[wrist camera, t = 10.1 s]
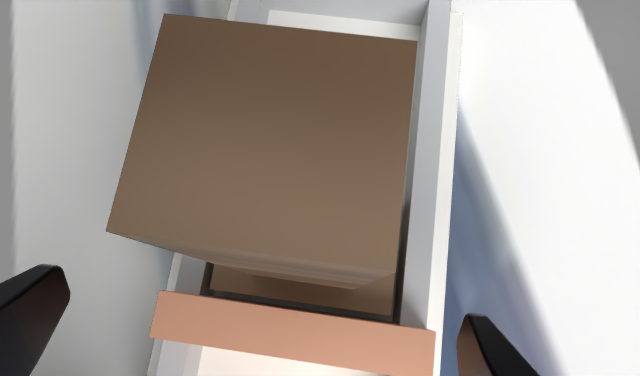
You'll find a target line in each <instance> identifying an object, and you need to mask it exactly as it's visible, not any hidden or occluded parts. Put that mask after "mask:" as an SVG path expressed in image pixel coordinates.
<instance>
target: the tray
mask: <svg viewBox="0 0 640 376" xmlns="http://www.w3.org/2000/svg"><path fill="white" fill-rule="evenodd" d="M451 1H452V0H231V4H230V8H229V13H228V17H227V20H229V21H238V22H247V23H257V24H266V25H275V26H284V27H294V28H303V29H312V30H321V31H330V32H340V33H349V34H358V35H367V36H376V37H386V38H395V39H404V40H413V41H418V46H417V56H416V67H415V77H414V87H413V98H412V108H411V119H410V129H409V139H408V150H407V160H406V171H405V181H404V192H403V202H402V212H401V223H400V233H399V244H398V254H397V265H396V272H395V278H394V288H393V299H392V309H391V316H388V315H382V314H375V313H368V312H361V311H354V310H348V309H341V308H334V307H327V306H321V305H314V304H307V303H300V302H293V301H287V300H280V299H273V298H266V297H260V296H253V295H246V294H239V293H233V292H226V291H219V290H212V289H209V288H210V283H211V278H212V273H213V268H214V264H213V263H210V262H206V261H203V260H200V259H196V258H193V257H190V256H186V255H183V254H180V253H176V252H174V256H173V261H172V265H171V270H170V274H169V279H168V283H167V287H166V291H159V294H158V299H157V303H156V307H155V312H154V316H153V320H152V325H151V329H150V333H149V338H155V341H154V345H153V349H152V354H151V358H150V363H149V367H148V372H147V376H439V375H440V360H441V345H442V330H443V315H444V300H445V285H446V270H447V255H448V240H449V226H450V211H451V196H452V181H453V166H454V151H455V136H456V121H457V106H458V91H459V76H460V61H461V46H462V31H463V16H464V13H456V12H451Z"/></svg>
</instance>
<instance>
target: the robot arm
mask: <svg viewBox="0 0 640 376" xmlns="http://www.w3.org/2000/svg"><path fill="white" fill-rule="evenodd" d="M69 300H70V290H69V286H68V283H67V280H66V277H65V274H64V271H63V269H62V268H61V267H60V266H57V265H48V264H40V265H38V266H35V267H33V268H31V269H29V270H27V271H25V272H23V273H21V274H19V275H17V276H15V277H13V278H11V279H9V280H6V281H4V282H2V283H0V376H29V375H30V374H31V372H32V371H33V369H34V367H35V366H36V364H37V362H38V360H39V359H40V357H41V355H42V353H43V351H44V349H45V347H46V346H47V344H48V342H49V340H50V338H51V336H52V334H53V332H54V330H55V328H56V326H57V324H58V322H59V321H60V319H61V317H62V315H63V313H64V311H65V309H66V307H67V305H68V303H69ZM456 349H457V360H458V371H459V376H540V375H539V374H538V373H537V372H536V370H535V369H534V368H533V367H532V366H531V365H530V364H529V363H528V361H527V360H526V359H525V358H524V357H523V356H522V355H521V353H520V352H519V351H518V350H517V349H516V348H515V347H514V346H513V344H512V343H511V342H510V341H509V340H508V339H507V338H506V336H505V335H504V334H503V333H502V332H501V331H500V330H499V328H498V327H497V326H496V325H495V324H494V323H493V322H492V321H491V319H490V318H489V317H488V316H486V315H483V314H475V313H467V314H466V315H465V317H464V319H463V323H462V326H461V329H460V332H459V335H458V338H457V345H456Z"/></svg>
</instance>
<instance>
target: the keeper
mask: <svg viewBox="0 0 640 376" xmlns="http://www.w3.org/2000/svg"><path fill="white" fill-rule="evenodd" d="M417 46H418V41H413V40H404V39H395V38H386V37H376V36H367V35H358V34H349V33H340V32H330V31H321V30H312V29H303V28H294V27H284V26H275V25H266V24H257V23H247V22H238V21H229V20H220V19H211V18H201V17H192V16H183V15H174V14H165V13H164V16H163V20H162V23H161V27H160V31H159V35H158V38H157V42H156V46H155V49H154V53H153V57H152V61H151V64H150V68H149V72H148V75H147V79H146V83H145V87H144V90H143V94H142V98H141V102H140V105H139V109H138V113H137V116H136V120H135V124H134V128H133V131H132V135H131V139H130V142H129V146H128V150H127V154H126V157H125V161H124V165H123V168H122V172H121V176H120V180H119V183H118V187H117V191H116V194H115V198H114V202H113V206H112V209H111V213H110V217H109V221H108V224H107V228H106V231H107V232H110V233H113V234H117V235H120V236H123V237H127V238H130V239H133V240H137V241H140V242H143V243H147V244H150V245H153V246H157V247H160V248H163V249H166V250H170V251H173V252H176V253H180V254H183V255H186V256H190V257H193V258H196V259H200V260H203V261H206V262H210V263H213V264H214V268H213V273H212V278H211V283H210V288H209V289H212V290H219V291H226V292H233V293H239V294H246V295H253V296H260V297H266V298H273V299H280V300H287V301H293V302H300V303H307V304H314V305H321V306H327V307H334V308H341V309H348V310H354V311H361V312H368V313H375V314H382V315H388V316H391V309H392V299H393V288H394V278H395V272H396V265H397V254H398V244H399V233H400V223H401V212H402V202H403V192H404V181H405V171H406V160H407V150H408V139H409V129H410V119H411V108H412V98H413V87H414V77H415V67H416V56H417Z"/></svg>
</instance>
